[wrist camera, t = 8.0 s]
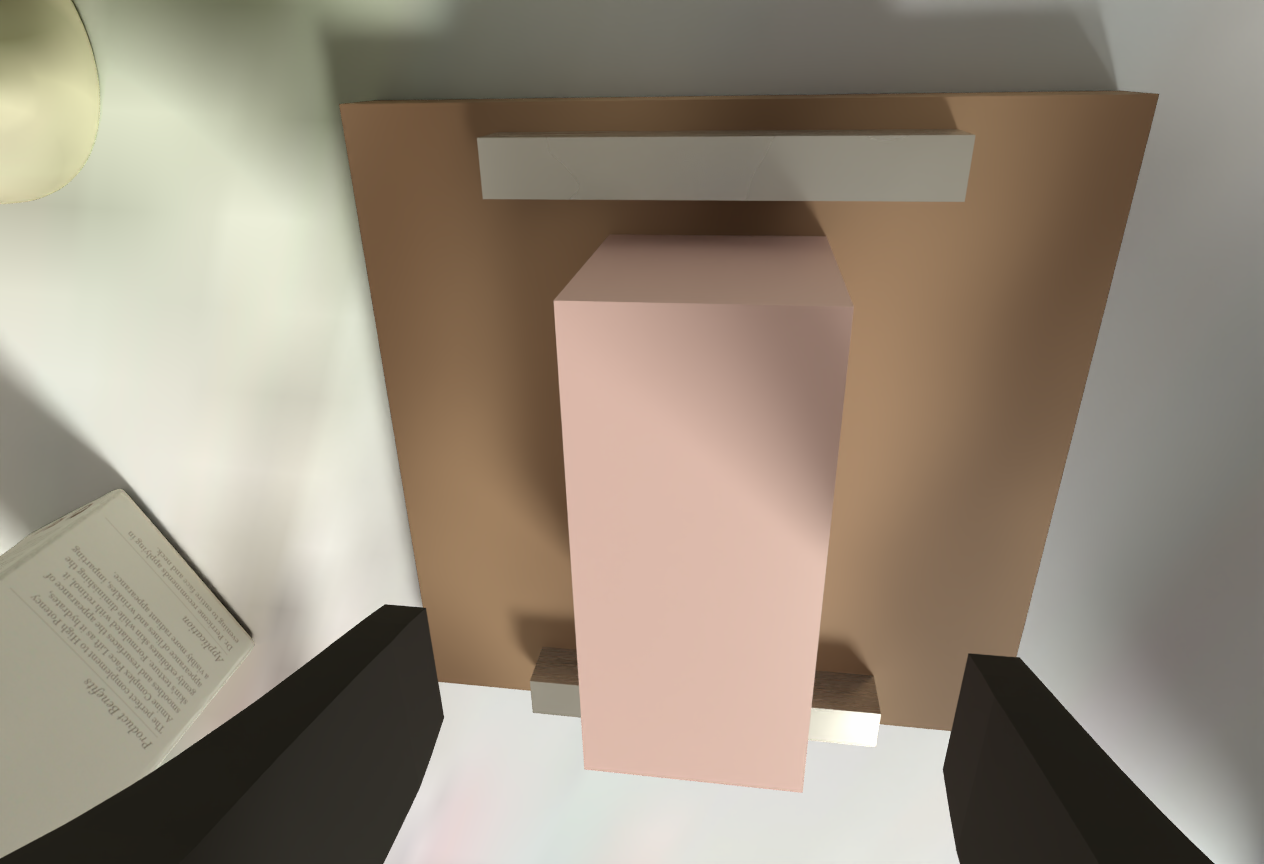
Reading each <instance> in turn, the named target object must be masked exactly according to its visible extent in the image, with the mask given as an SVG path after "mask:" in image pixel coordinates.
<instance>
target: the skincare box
mask: <svg viewBox="0 0 1264 864" xmlns="http://www.w3.org/2000/svg"><path fill="white" fill-rule="evenodd" d="M253 647H254V641H253V640H252V638H251V637H250V636H249V635H248V634H247V632H246V631H245V630H244V629H243V628H242V627H241V625H240V624H239V623H238V622H237V621H236V620H235V618H234V617H233V616H232V615H231V614H230V613H229V611H228V610H227V609H226V608H225V607H224V606H223V605H222V603H221V602H220V601H219V600H218V599H217V598H216V596H215V595H214V594H213V593H212V592H211V591H210V589H209V588H208V587H207V586H206V585H205V584H204V582H203V581H202V580H201V579H200V578H199V577H198V576H197V574H196V573H195V572H194V571H193V570H192V569H191V567H190V566H189V565H188V564H187V563H186V562H185V560H184V559H183V558H182V557H181V556H180V555H179V553H178V552H177V551H176V550H175V549H174V548H173V546H172V545H171V544H170V543H169V542H168V541H167V539H166V538H165V537H164V536H163V535H162V534H161V533H160V531H159V530H158V529H157V528H156V527H155V526H154V524H153V523H152V522H151V521H150V520H149V519H148V517H147V516H146V515H145V514H144V513H143V512H142V510H141V509H140V508H139V507H138V506H137V505H136V504H135V502H134V501H133V500H132V499H131V498H130V497H129V496H128V494H127V493H126V492H125V491H124V490H122V489H117V490H114V491H112V492H110V493H108V494H106V495H104V496H102V497H100V498H98V499H96V500H94V501H92V502H90V503H88V504H86V505H84V506H82V507H80V508H78V509H76V510H74V511H73V512H71V513H69V514H67V515H65V516H63V517H61V518H59V519H57V520H55V521H54V522H52V523H50V524H48V525H46V526H44V527H42V528H40V529H38V530H37V531H35V532H33V533H31V534H30V535H28V536H27V537H25V538H24V539H23V540H21V541H20V542H19V543H18V544H16V545H15V546H14V547H12V548H11V549H9V550H8V551H7V552H5V553H4V554H2V555H1V556H0V858H2V857H4V856H6V855H8V854H9V853H11V852H13V851H15V850H17V849H19V848H21V847H23V846H25V845H26V844H28V843H30V842H32V841H34V840H36V839H38V838H40V837H42V836H43V835H45V834H47V833H49V832H51V831H53V830H55V829H57V828H58V827H60V826H62V825H64V824H66V823H67V822H69V821H71V820H73V819H75V818H76V817H78V816H80V815H82V814H83V813H85V812H87V811H88V810H90V809H92V808H93V807H95V806H97V805H98V804H100V803H102V802H103V801H105V800H107V799H109V798H110V797H112V796H114V795H115V794H117V793H119V792H120V791H122V790H124V789H125V788H127V787H129V786H130V785H132V784H134V783H135V782H137V781H138V780H140V779H142V778H143V777H145V776H146V775H148V774H150V773H151V772H153V771H154V770H156V769H157V768H158V766H159V765H160V764H161V763H162V761H163V760H164V759H165V757H166V756H167V755H168V754H169V752H170V751H171V750H172V749H173V748H174V746H175V745H176V744H177V743H178V741H179V740H180V739H181V738H182V736H183V735H184V734H185V732H186V731H187V730H188V729H189V727H190V726H191V725H192V724H193V722H194V721H195V720H196V719H197V718H198V716H199V715H200V714H201V713H202V711H203V710H204V709H205V707H206V706H207V705H208V704H209V703H210V701H211V700H212V699H213V698H214V697H215V695H216V694H217V693H218V692H219V690H220V689H221V688H222V686H223V685H224V684H225V683H226V682H227V680H228V679H229V678H230V677H231V676H232V674H233V673H234V672H235V671H236V669H237V668H238V667H239V666H240V665H241V663H242V662H243V661H244V660H245V658H246V657H247V656H248V655H249V654H250V652H251V651H252V649H253Z"/></svg>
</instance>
